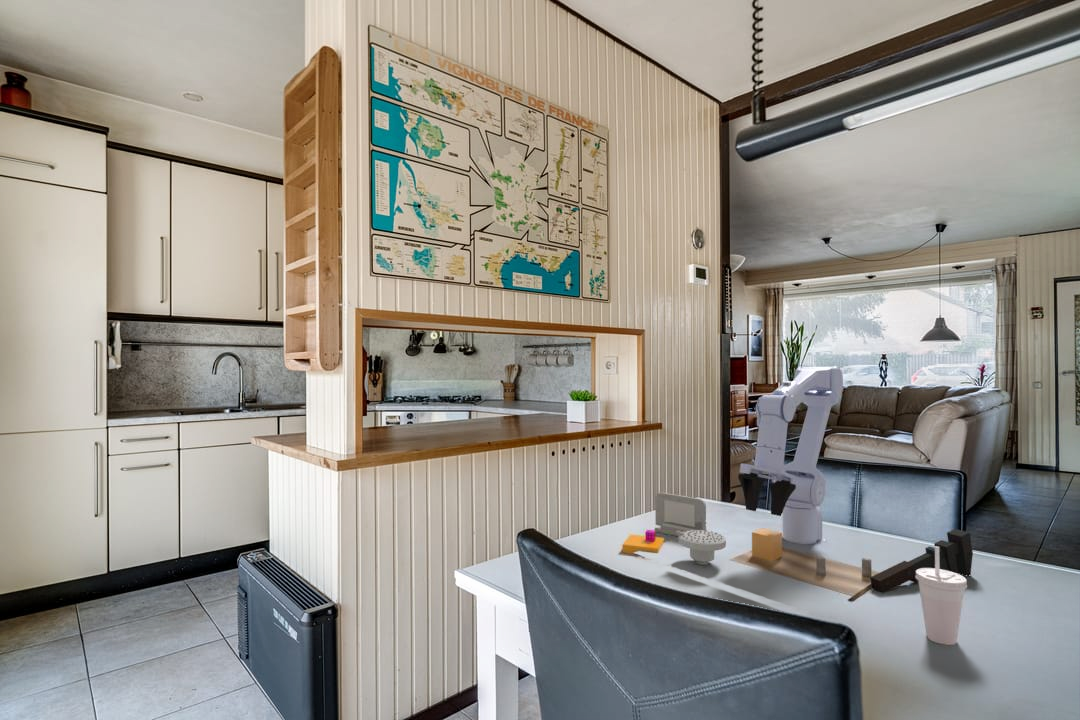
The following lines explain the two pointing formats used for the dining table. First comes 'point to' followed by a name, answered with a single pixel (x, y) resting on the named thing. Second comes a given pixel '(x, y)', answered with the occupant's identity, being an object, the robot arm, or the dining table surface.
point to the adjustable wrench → (930, 562)
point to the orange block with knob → (643, 543)
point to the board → (808, 571)
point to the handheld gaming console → (679, 513)
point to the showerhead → (702, 544)
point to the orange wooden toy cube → (767, 544)
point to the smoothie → (941, 601)
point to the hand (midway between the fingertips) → (763, 512)
